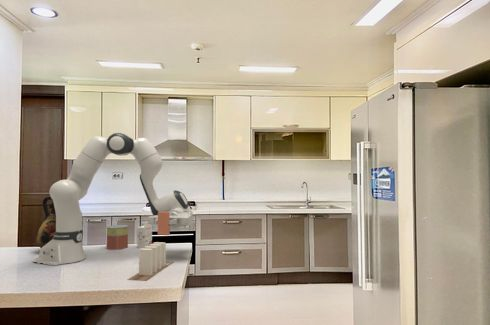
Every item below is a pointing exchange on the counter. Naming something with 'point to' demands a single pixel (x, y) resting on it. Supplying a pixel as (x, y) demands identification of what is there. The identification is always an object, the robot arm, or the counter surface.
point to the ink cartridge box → (144, 235)
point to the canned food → (117, 237)
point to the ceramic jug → (47, 224)
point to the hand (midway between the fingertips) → (162, 222)
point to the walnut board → (147, 277)
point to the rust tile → (163, 223)
